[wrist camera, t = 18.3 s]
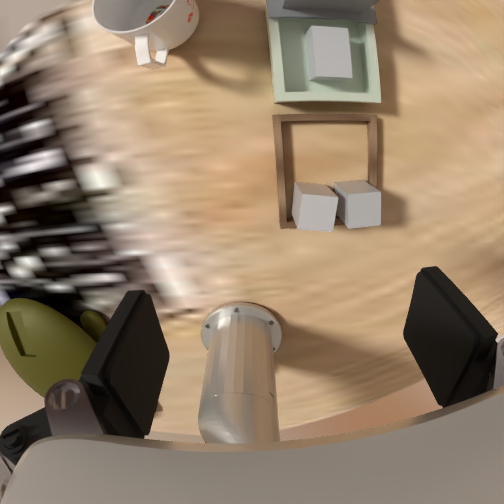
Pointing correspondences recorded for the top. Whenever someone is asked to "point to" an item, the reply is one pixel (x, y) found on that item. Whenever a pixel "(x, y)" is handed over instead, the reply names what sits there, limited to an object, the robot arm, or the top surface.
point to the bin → (296, 65)
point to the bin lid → (324, 10)
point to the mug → (148, 25)
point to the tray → (306, 117)
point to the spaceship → (46, 342)
